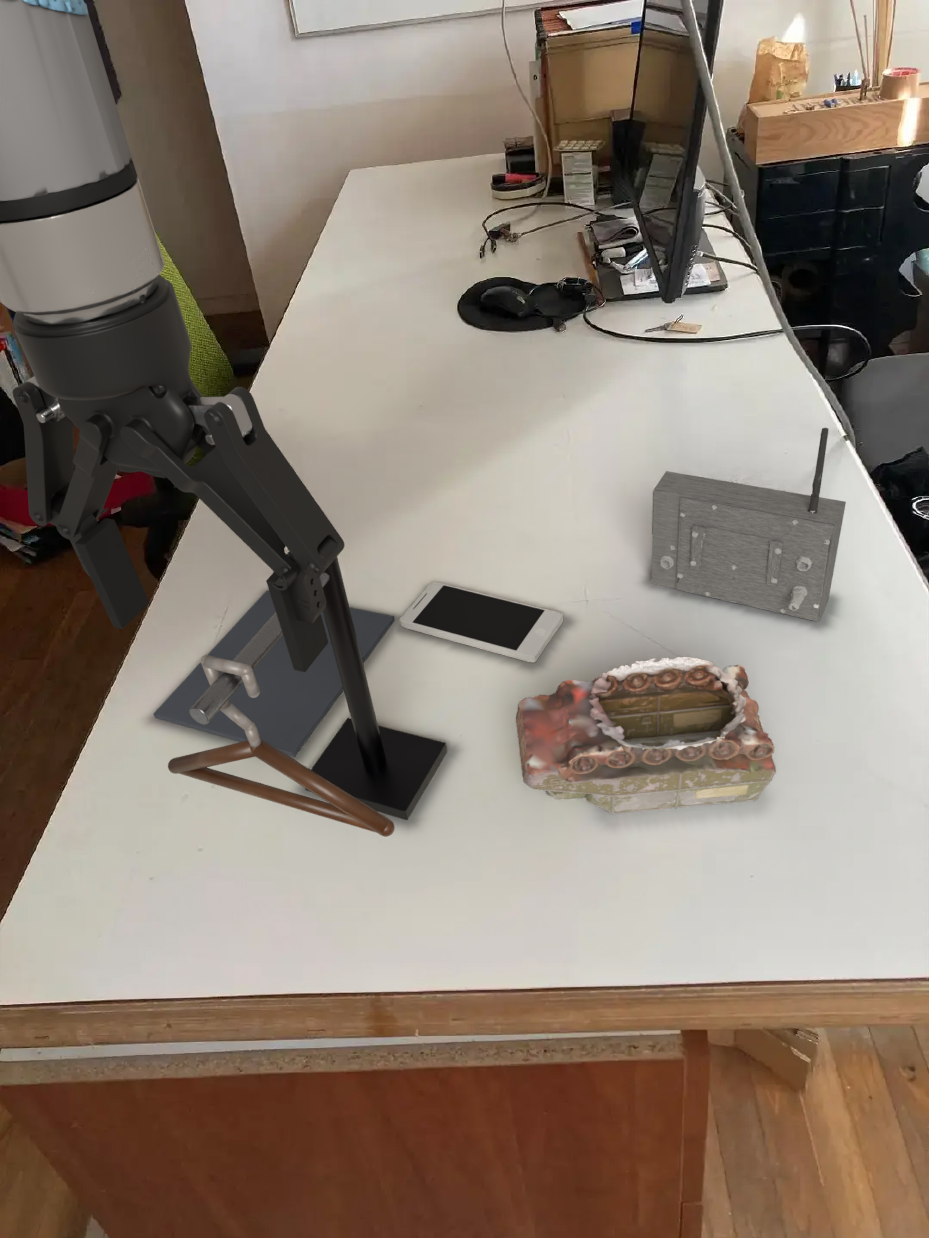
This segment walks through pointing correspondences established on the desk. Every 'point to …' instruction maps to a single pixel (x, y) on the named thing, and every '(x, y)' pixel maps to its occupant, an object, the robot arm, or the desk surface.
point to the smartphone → (483, 621)
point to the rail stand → (361, 750)
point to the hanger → (272, 765)
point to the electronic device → (747, 541)
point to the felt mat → (274, 683)
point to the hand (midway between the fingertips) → (217, 635)
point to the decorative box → (648, 738)
